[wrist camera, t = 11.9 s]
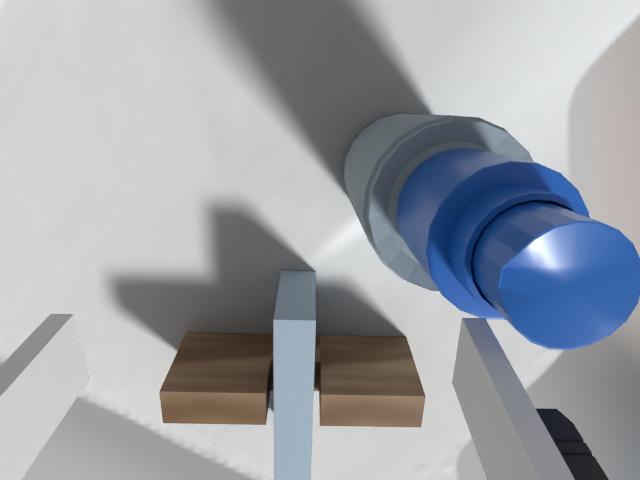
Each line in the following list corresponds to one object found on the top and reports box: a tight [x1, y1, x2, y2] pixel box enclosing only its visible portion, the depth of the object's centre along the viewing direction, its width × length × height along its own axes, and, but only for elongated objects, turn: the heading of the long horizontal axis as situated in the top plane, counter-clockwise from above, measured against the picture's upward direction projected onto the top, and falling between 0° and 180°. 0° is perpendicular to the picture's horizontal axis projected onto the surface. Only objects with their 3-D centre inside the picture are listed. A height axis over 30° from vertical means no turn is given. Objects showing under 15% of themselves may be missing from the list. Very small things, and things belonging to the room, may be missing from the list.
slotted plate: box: [273, 270, 316, 480], centre depth 40 cm, size 16×3×8 cm, turn 178°
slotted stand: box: [160, 332, 425, 427], centre depth 39 cm, size 3×20×8 cm, turn 88°
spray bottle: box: [344, 114, 640, 350], centre depth 25 cm, size 9×9×25 cm
